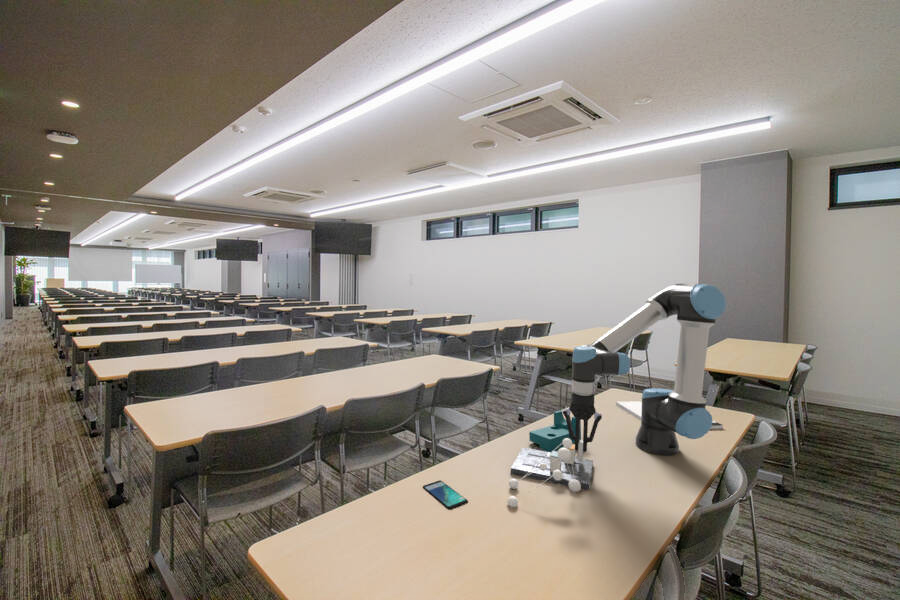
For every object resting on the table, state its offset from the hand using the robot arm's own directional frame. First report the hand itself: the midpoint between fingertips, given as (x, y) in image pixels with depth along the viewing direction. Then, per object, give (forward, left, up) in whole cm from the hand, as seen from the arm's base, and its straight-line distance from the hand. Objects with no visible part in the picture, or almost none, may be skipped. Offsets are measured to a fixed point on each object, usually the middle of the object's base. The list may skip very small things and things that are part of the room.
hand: (580, 459), depth 136 cm
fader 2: (+4, 0, -1) cm, 4 cm away
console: (+9, +4, -4) cm, 10 cm away
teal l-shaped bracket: (+11, -19, -4) cm, 23 cm away
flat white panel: (-33, -75, -4) cm, 82 cm away
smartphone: (+36, +34, -4) cm, 50 cm away
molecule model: (+9, +21, -4) cm, 23 cm away
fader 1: (+7, +8, -1) cm, 11 cm away
